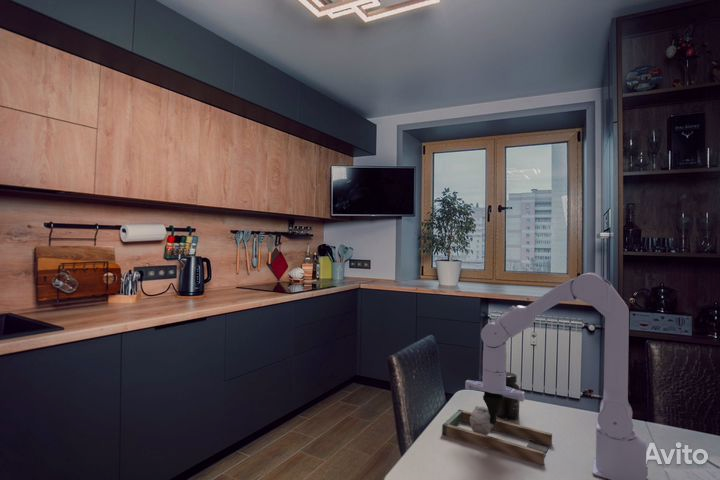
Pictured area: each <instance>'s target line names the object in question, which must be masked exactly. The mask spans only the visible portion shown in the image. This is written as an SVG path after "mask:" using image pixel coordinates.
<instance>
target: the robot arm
mask: <svg viewBox="0 0 720 480" xmlns="http://www.w3.org/2000/svg"><path fill="white" fill-rule="evenodd" d="M577 299H578V300H579V301H582V302H583V303H585V304H588V305H590V306H592V307H593V308H594V309H595V310H597V312H599V313H600V314H601V315H603V316H604V354H603V355H604V358H603V359H604V363H603V365H604V367H603V398H602V399H601V401H600V402H599V403H600V404H599V412H598V414H597V415H598V416H597V424H596V425H595V430H596V431H595V457H594V460H593V465H592V466H593V467H592V473H591V474H592V475H595V476H597V477H600V478H604V479H608V480H647V477H648V475H649V474H648V473H649V472H648V471H649V470H648V469H649V468H648V466H647V440H646V439H645V438H643V437H642V438H641V437H639V436H637V435H636V433H635V431H634V430H633V429H634V424H633V409H632V406H631V404H630V403H629V399H628V398H629V397H628V395H629V394H628V393H629V392H628V391H629V388H628V387H629V344H630V343H629V337H630V335H629V333H630V311H629V306H628V305H627V304H626V302H625V301H624V299H623V298H622V297H621V295H620V294H619V293H618V291H617V290H616V289H615V288H614V285H613V284H612V283H611V282H610V281H609V280H608V279H606V278H604V276H602V275H600V274H598V273H596V272H585V273H582V274H581V275H578V276H576V277H575V278H572V279H570V280H568V281H565V282H562V283H561V284H558V285H556V286H554V288H552V289H550V290H549V291H547V292H546V293H545V294H543V295H542V296H539V297H538V298H537V299H536V300H534V301H532V302H531V303H529V304H528V305H525V306H524V305H522V304H521V305H519V304H518V305H516V306H515V305H512V306H510V307H509V308H508V310H509V311H507V312H506V313H504V314H502V315H501V316H496V317H494V318H493V322H490V323H486V324H485V325H484V327H483V328H482V329H481V332H480V338H481V341H482V342H483V350H482V381H478V380H470V379H467V380H465V383H464V385H465V386H464V389H465V390H474V391H478V392H482V393H483V395H482V400H483V401H484V403H485V405H486V408H488V411H489V414H490V418H491V424H495V422H496V419H497V417H498V416H497V413H498V410H499V407H500V405H501V403H502V401H503V399H504V397H508V398H512V399H517V400H518V401H520V402H524V401H525V399H526V398H525V391H523V390H520V391H519V390H516V389H513V388H510V387H507V386H506V372H507V341H508V340H509V338H511V339H512V338H514V337H515V336H517V335H519V334H521V333H523V332H524V331H525V330H527V329H529V328H530V327H532V326H533V325H534V322H535V317H537V316H539V315H541V314H542V313H543V312H545V311H548V310H549V309H551V308H552V307H554V306H556V305H558V304H560V303H561V302H575V301H576V300H577Z"/></svg>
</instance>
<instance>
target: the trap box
mask: <svg viewBox="0 0 720 480" xmlns="http://www.w3.org/2000/svg"><path fill="white" fill-rule="evenodd" d="M471 414H472V411H471V412H470V411H467V410H463V409H458V410H457V411H456V412H454V413H453V415H451V416H450V417H449V418H448V419H447V420H445V422H444V423H443V424H442V429H441V435H442V436H446V437H449V438H452V439H457V440H460V441H462V442H466V443H469V444H471V445H476V446H479V447H483V448H486V449H489V450H492V451H495V452H499V453H501V454H505V455H509V456H512V457H515V458H518V459H520V460H521V459H522V460H525V461H528V462H531V463H535V464H538V465H540V466H544V464H545V458H546V457H545V456H546V453H547V452H548V450H549V447H550V446H552V445H553V433H551V432H549V431H548V432H547V431H545V430H544V431H543V430H539V429H536V428H531V427H528V426H525V425H520V424H517V423H512V422H509V421H507V420H506V421H505V420H502V419H497V418H496V422H495V424H493V427H492V428H491V430H494V431H498V432H500V433H505V434H508V435H513V436H516V437H519V438H523V439H526V440H529V441H528V443H527V445H526V446H525V445H521V444H518V443H515V442H512V441H508V440H505V439H501V438H498V437H494V436H490V435H484V434H480V433H477V432H473V430H469V429H465V428H462V427H458V425H459V424H460V423H461V422H463V423H468V424H471V423H470V416H471Z"/></svg>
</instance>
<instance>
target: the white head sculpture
mask: <svg viewBox="0 0 720 480" xmlns="http://www.w3.org/2000/svg"><path fill="white" fill-rule="evenodd" d="M471 413H472V414H471V416H470V423H469V424H470V427H471V431H473V432H477V433H480V434H484V435H487V436H489V434H490V432H491V430H492V429H491V428H492V427H493V424H491V418H490V414H489V411H488V408H487V407H485V406H480V405H476V406H475V407H474V409H473V411H471Z"/></svg>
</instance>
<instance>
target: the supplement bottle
mask: <svg viewBox="0 0 720 480" xmlns="http://www.w3.org/2000/svg"><path fill="white" fill-rule="evenodd" d="M517 376H518V375H516V374H515V373H512V372H508V371H506V386H507V387H510V388H513V389H516V390H519V391H521V388H520V386H519V384H518V383H517V382H518V380H517ZM520 402H521V401H518V400H517V399H512V398H508V397H504V399H503V401H502V403H501V405H500V407H499V410H498V413H497V417H499V418H501V419H505V420H510V421H511V420H517V419H518V418H519V417H520Z"/></svg>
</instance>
